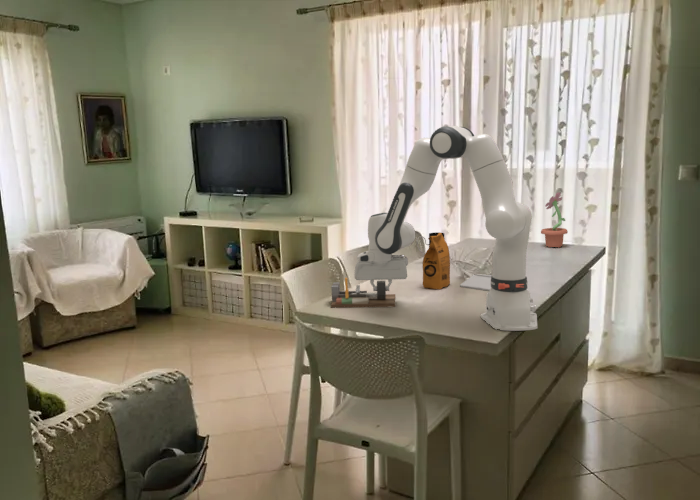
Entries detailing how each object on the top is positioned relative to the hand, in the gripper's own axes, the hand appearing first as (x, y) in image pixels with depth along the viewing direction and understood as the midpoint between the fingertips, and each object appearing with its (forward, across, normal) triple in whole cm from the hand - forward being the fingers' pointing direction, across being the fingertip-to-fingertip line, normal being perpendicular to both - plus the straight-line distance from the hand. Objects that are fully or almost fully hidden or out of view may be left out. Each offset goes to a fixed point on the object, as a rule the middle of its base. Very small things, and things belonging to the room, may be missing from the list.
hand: (381, 290), depth 233 cm
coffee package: (+5, -22, -24) cm, 33 cm away
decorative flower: (+5, -91, -109) cm, 142 cm away
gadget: (+5, -44, -27) cm, 52 cm away
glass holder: (+5, -22, -70) cm, 74 cm away
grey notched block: (+3, +5, +2) cm, 6 cm away
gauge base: (+4, +7, 0) cm, 8 cm away
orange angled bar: (+1, +13, +5) cm, 14 cm away
